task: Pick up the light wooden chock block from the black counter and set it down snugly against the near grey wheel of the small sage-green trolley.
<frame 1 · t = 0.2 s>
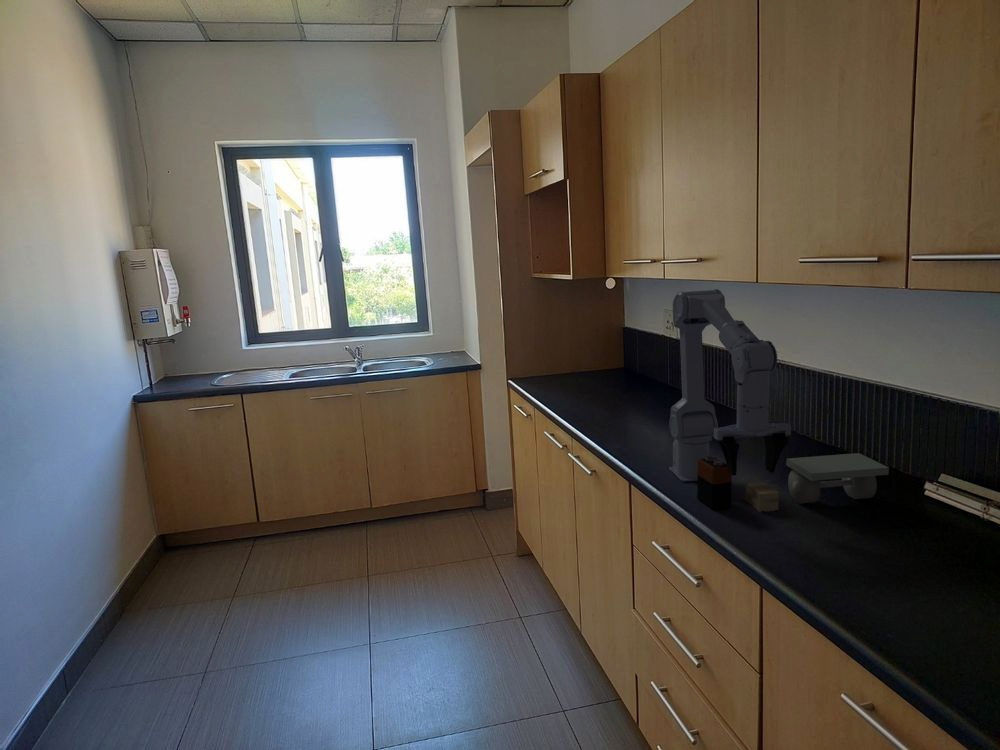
hand: (751, 472, 125), 10 cm above the counter, tool pointing down, fingers open, 7 cm apart
trolley: (830, 499, 134), on the counter
chock: (761, 506, 133), on the counter
battery: (713, 504, 136), on the counter
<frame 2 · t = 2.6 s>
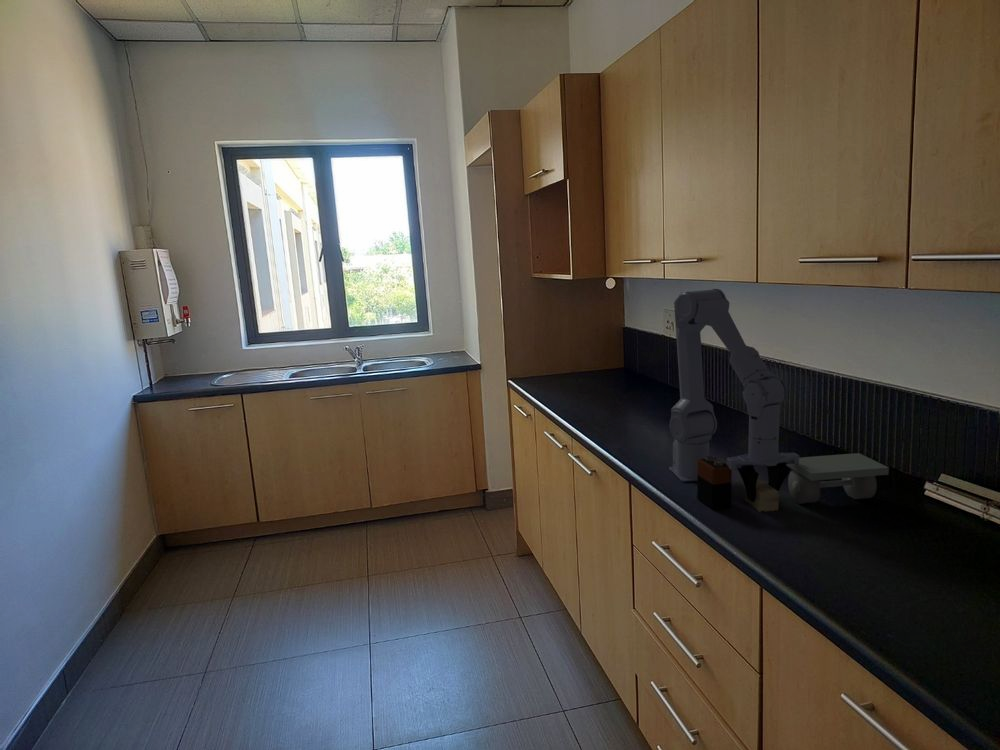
hand: (761, 499, 133), 1 cm above the counter, tool pointing down, fingers closed on chock, 4 cm apart
chock: (761, 505, 133), on the counter, touching gripper
everything else where it was.
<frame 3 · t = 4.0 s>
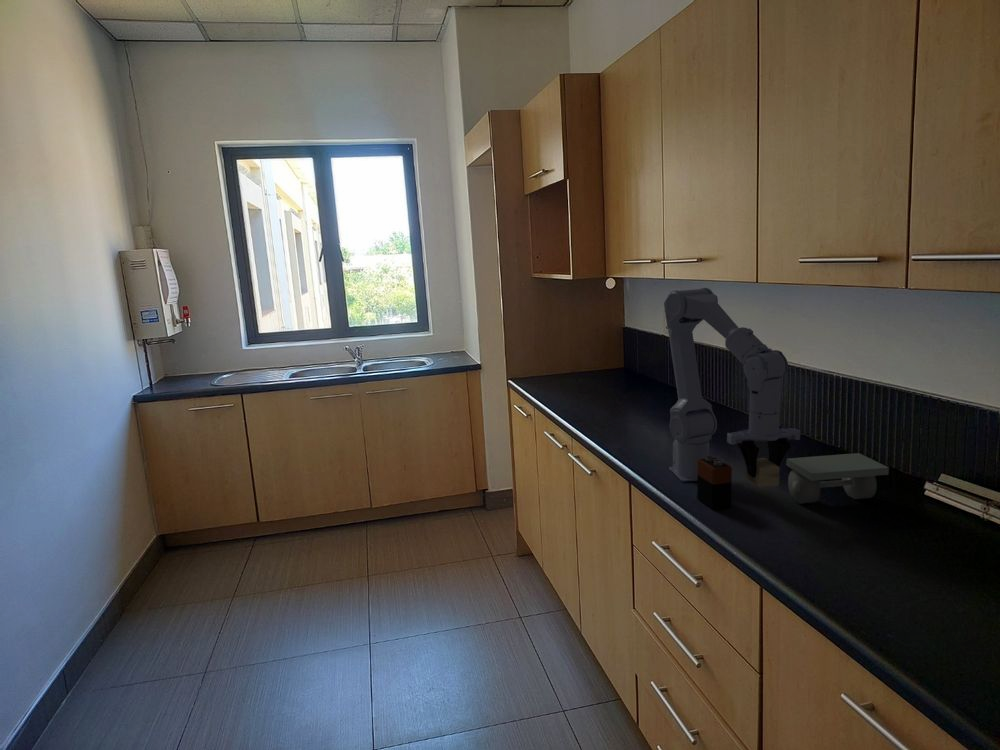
hand: (762, 474, 132), 7 cm above the counter, tool pointing down, fingers closed on chock, 4 cm apart
chock: (762, 481, 132), point 5 cm above the counter, touching gripper
everything else where it was.
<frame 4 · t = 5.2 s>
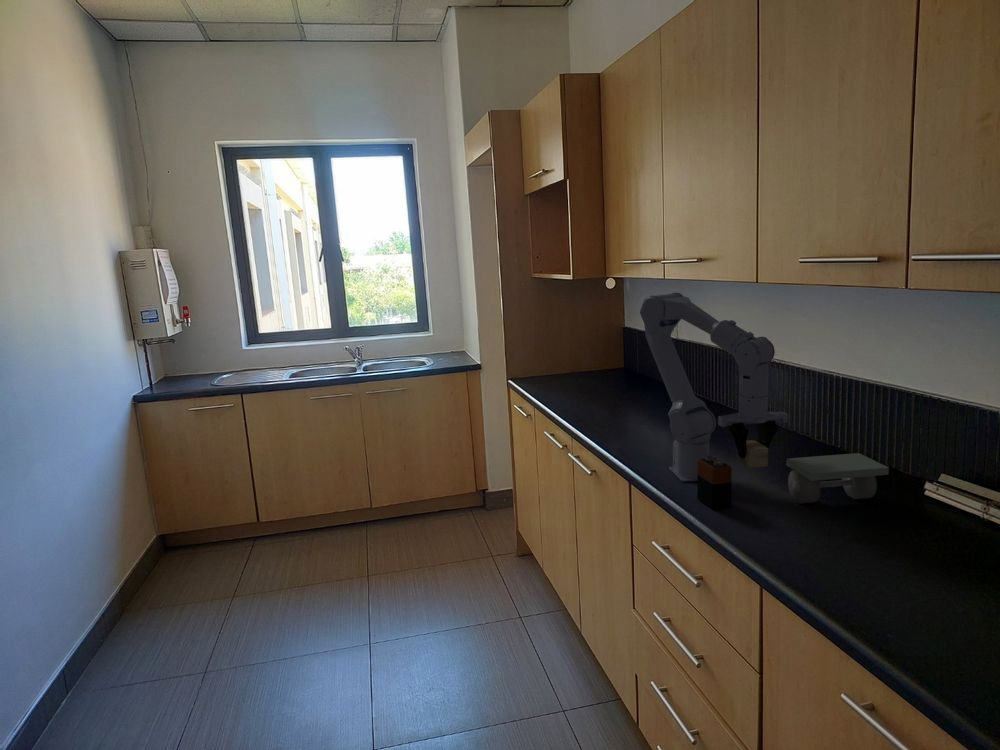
hand: (751, 456, 139), 8 cm above the counter, tool pointing down, fingers closed on chock, 4 cm apart
chock: (751, 462, 139), point 7 cm above the counter, touching gripper
everything else where it was.
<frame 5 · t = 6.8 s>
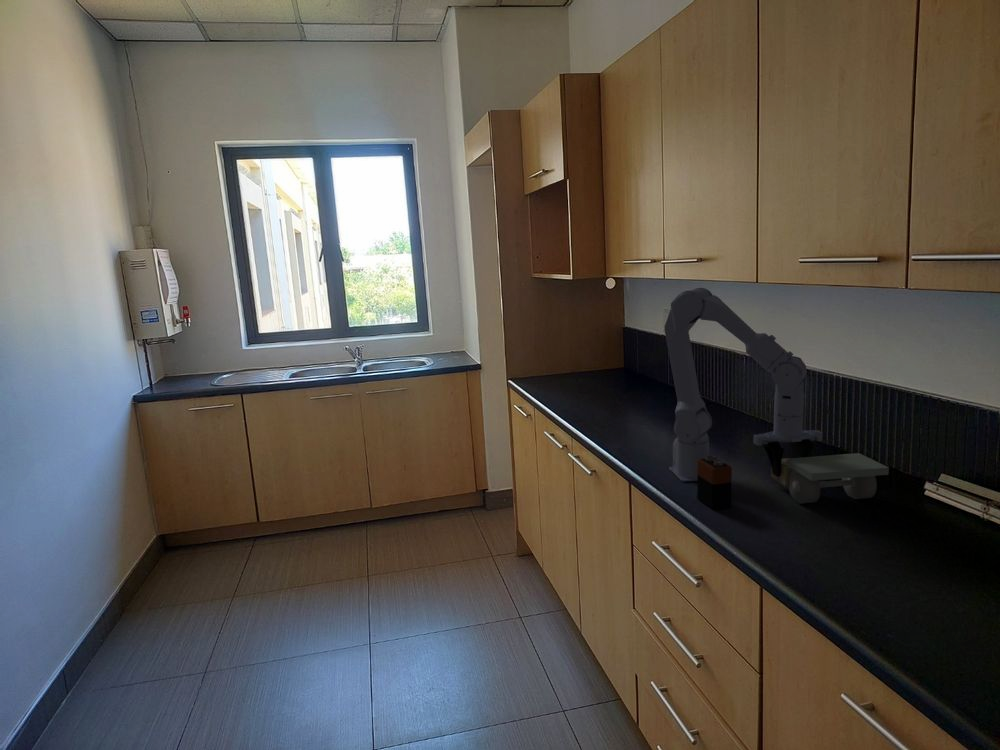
hand: (786, 474, 140), 4 cm above the counter, tool pointing down, fingers closed on chock, 4 cm apart
chock: (786, 480, 140), point 2 cm above the counter, touching gripper
everything else where it was.
when the fingers open (3 cm above the counter, at t = 7.8 s): chock drops 2 cm, on the counter.
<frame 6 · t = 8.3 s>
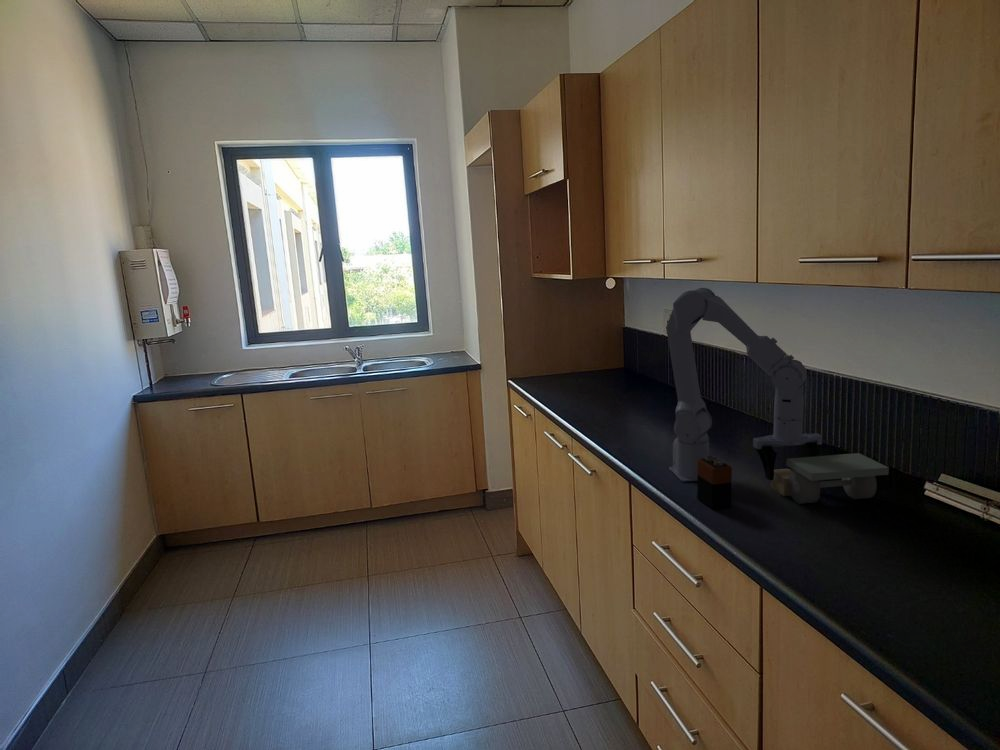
hand: (786, 477, 140), 3 cm above the counter, tool pointing down, fingers open, 7 cm apart
chock: (786, 490, 141), on the counter
everything else where it was.
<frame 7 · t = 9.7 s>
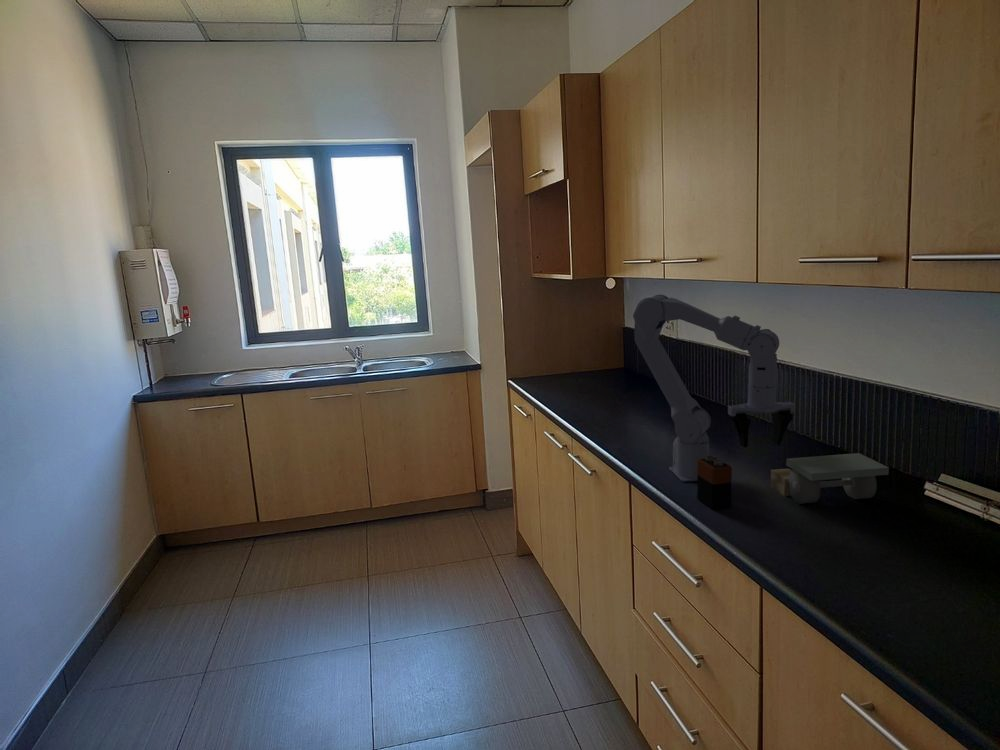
hand: (760, 444, 143), 9 cm above the counter, tool pointing down, fingers open, 7 cm apart
nothing on the counter moved.
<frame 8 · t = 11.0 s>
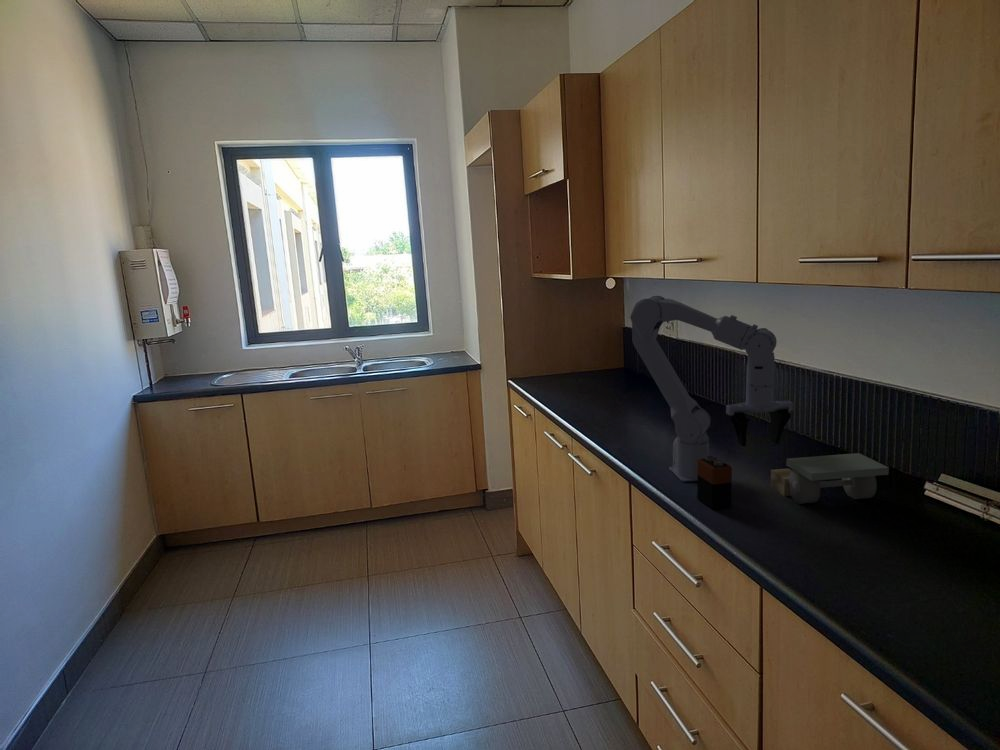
hand: (758, 443, 144), 9 cm above the counter, tool pointing down, fingers open, 7 cm apart
nothing on the counter moved.
at the end: chock 0.1 cm from the target spot, on the counter; chock tilted 0°; the gripper is holding nothing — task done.
